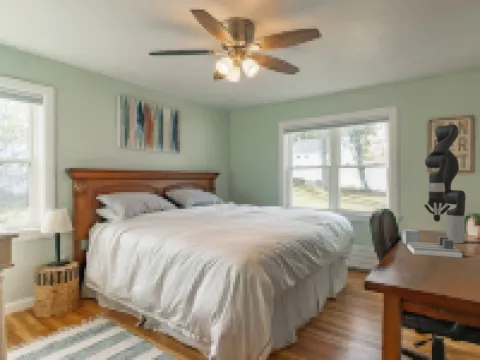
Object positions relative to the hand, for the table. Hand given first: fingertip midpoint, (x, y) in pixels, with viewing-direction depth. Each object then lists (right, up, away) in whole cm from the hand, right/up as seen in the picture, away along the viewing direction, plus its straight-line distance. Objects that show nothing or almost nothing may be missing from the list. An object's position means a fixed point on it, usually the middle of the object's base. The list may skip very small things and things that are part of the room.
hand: (436, 221), depth 163 cm
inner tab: (+3, -15, -1) cm, 15 cm away
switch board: (-4, -17, -2) cm, 18 cm away
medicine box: (-4, -17, +18) cm, 25 cm away
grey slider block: (0, -15, -8) cm, 17 cm away
